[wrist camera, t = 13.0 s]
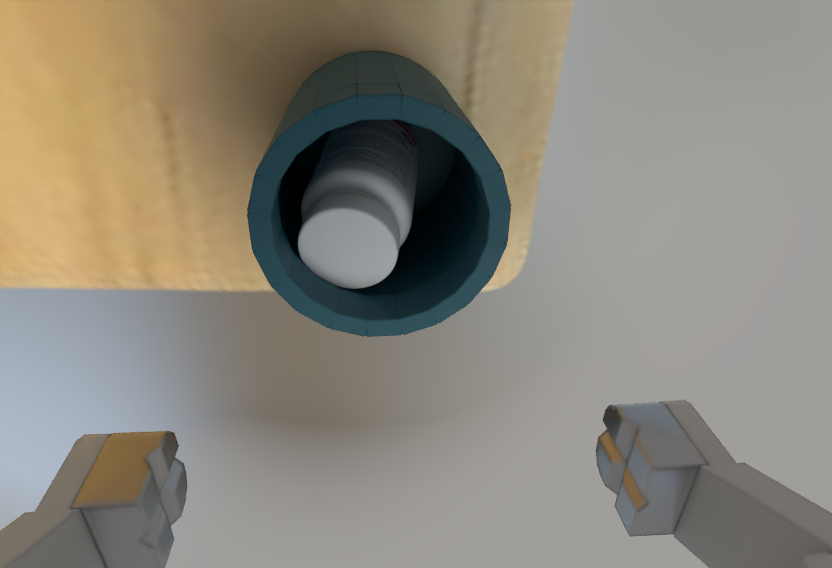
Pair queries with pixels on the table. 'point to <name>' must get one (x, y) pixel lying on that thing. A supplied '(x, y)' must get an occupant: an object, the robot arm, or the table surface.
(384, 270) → the pill bottle
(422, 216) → the jar
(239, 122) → the table surface
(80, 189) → the table surface
